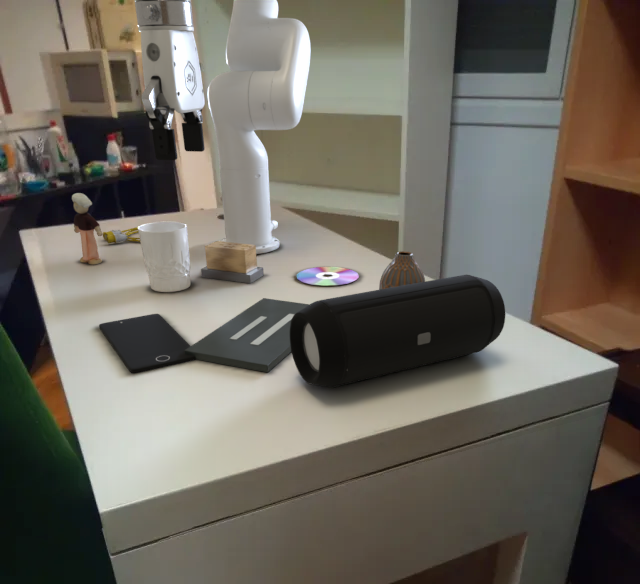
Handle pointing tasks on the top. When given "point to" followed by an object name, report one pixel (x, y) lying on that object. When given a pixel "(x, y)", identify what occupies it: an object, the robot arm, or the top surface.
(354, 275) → the cd
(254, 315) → the slate board
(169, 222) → the white cup
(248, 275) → the eraser
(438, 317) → the portable speaker
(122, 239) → the yellow grey glove
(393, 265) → the vase
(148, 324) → the cell phone
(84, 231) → the grandmother figurine
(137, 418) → the top surface
